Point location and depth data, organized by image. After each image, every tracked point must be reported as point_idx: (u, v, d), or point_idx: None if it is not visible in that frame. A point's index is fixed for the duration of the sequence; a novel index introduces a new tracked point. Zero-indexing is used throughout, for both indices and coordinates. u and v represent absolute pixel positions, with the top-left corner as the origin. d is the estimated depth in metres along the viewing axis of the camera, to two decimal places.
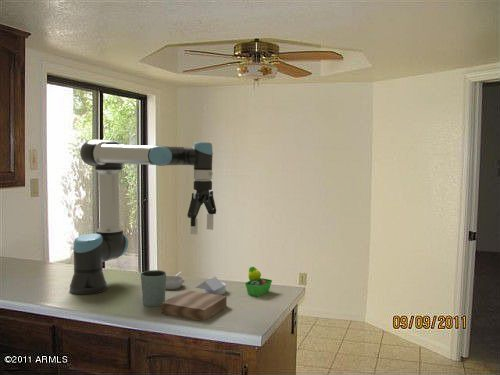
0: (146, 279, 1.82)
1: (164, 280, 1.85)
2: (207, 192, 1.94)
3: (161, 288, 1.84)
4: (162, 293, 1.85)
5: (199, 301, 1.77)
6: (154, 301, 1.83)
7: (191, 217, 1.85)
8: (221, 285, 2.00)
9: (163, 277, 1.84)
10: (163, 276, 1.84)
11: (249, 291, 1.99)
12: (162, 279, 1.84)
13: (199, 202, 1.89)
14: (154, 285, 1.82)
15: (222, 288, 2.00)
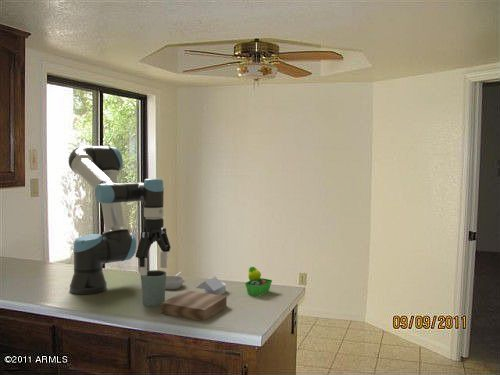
0: (146, 279, 1.82)
1: (164, 280, 1.85)
2: (159, 230, 1.86)
3: (161, 288, 1.84)
4: (162, 293, 1.85)
5: (199, 301, 1.77)
6: (154, 301, 1.83)
7: (140, 258, 1.77)
8: (221, 285, 2.00)
9: (163, 277, 1.84)
10: (163, 276, 1.84)
11: (249, 291, 1.99)
12: (162, 279, 1.84)
13: (149, 241, 1.81)
14: (154, 285, 1.82)
15: (222, 288, 2.00)
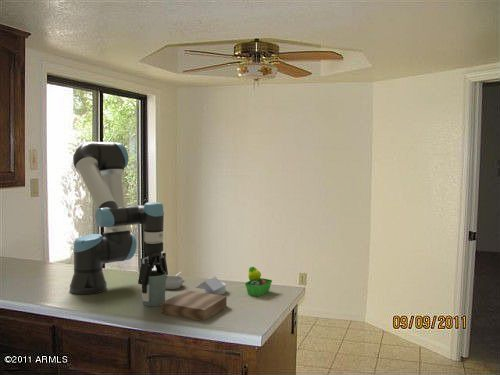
0: None
1: (164, 280, 1.85)
2: (159, 253, 1.87)
3: (161, 288, 1.84)
4: (162, 293, 1.85)
5: (199, 301, 1.77)
6: (154, 301, 1.83)
7: (142, 284, 1.80)
8: (221, 285, 2.00)
9: (163, 277, 1.84)
10: (163, 276, 1.84)
11: (249, 291, 1.99)
12: (162, 279, 1.84)
13: (150, 266, 1.83)
14: (154, 285, 1.82)
15: (222, 288, 2.00)
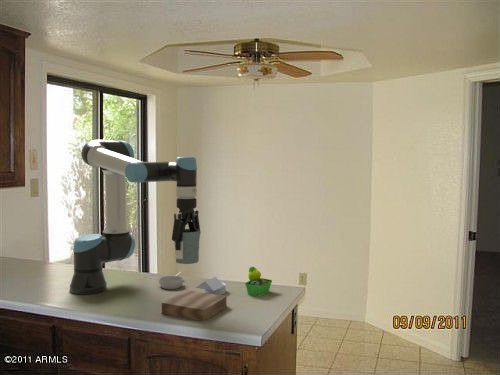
0: None
1: (198, 237, 1.78)
2: (192, 210, 1.80)
3: (195, 245, 1.76)
4: (196, 251, 1.77)
5: (199, 301, 1.77)
6: (188, 259, 1.75)
7: (176, 240, 1.72)
8: (221, 285, 2.00)
9: (197, 234, 1.77)
10: (197, 233, 1.76)
11: (249, 291, 1.99)
12: (196, 236, 1.76)
13: (183, 223, 1.75)
14: (188, 242, 1.75)
15: (222, 288, 2.00)
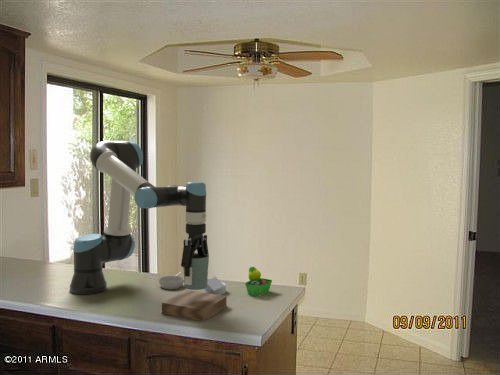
0: None
1: (207, 263, 1.77)
2: (201, 235, 1.79)
3: (204, 271, 1.76)
4: (205, 276, 1.76)
5: (199, 301, 1.77)
6: (197, 285, 1.75)
7: (185, 267, 1.72)
8: (221, 285, 2.00)
9: (206, 259, 1.76)
10: (206, 258, 1.76)
11: (249, 291, 1.99)
12: (205, 262, 1.76)
13: (192, 248, 1.74)
14: (197, 268, 1.74)
15: (222, 288, 2.00)
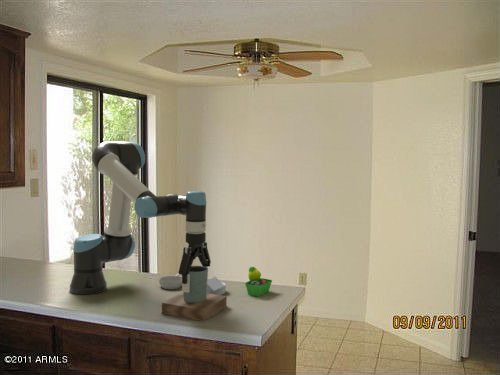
0: None
1: (206, 276, 1.77)
2: (200, 244, 1.79)
3: (203, 284, 1.76)
4: (204, 289, 1.77)
5: None
6: (196, 298, 1.75)
7: (182, 274, 1.70)
8: (221, 285, 2.00)
9: (205, 273, 1.76)
10: (205, 272, 1.76)
11: (249, 291, 1.99)
12: (204, 275, 1.76)
13: (191, 257, 1.74)
14: (196, 281, 1.74)
15: (222, 288, 2.00)
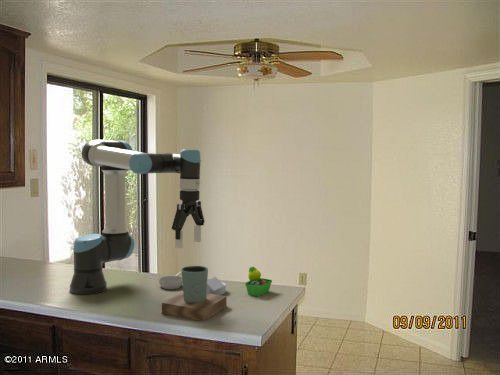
0: (188, 275, 1.74)
1: (206, 276, 1.77)
2: (194, 202, 1.81)
3: (203, 284, 1.76)
4: (204, 289, 1.77)
5: None
6: (196, 298, 1.75)
7: (176, 230, 1.73)
8: (221, 285, 2.00)
9: (205, 273, 1.76)
10: (205, 272, 1.76)
11: (249, 291, 1.99)
12: (204, 275, 1.76)
13: (185, 213, 1.76)
14: (196, 281, 1.74)
15: (222, 288, 2.00)
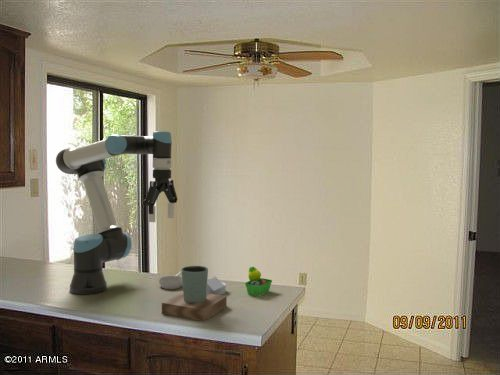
0: (188, 275, 1.74)
1: (206, 276, 1.77)
2: (167, 181, 1.96)
3: (203, 284, 1.76)
4: (204, 289, 1.77)
5: None
6: (196, 298, 1.75)
7: (149, 205, 1.87)
8: (221, 285, 2.00)
9: (205, 273, 1.76)
10: (205, 272, 1.76)
11: (249, 291, 1.99)
12: (204, 275, 1.76)
13: (157, 190, 1.90)
14: (196, 281, 1.74)
15: (222, 288, 2.00)
